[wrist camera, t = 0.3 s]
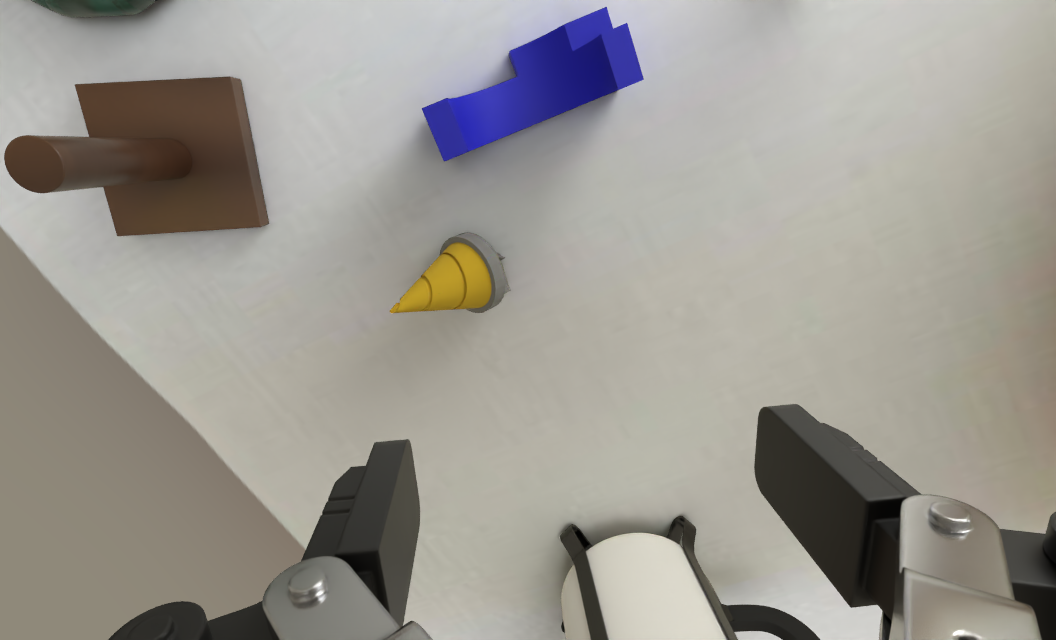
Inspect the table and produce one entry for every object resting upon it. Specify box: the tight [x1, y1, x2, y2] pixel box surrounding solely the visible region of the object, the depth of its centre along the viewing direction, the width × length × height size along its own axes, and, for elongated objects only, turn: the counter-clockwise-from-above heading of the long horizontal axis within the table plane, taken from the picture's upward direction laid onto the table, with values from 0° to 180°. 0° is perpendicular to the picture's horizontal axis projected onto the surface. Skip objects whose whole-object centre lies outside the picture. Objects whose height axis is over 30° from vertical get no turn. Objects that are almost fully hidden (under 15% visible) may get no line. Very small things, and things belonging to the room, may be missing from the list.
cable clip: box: [422, 7, 644, 161], centre depth 33 cm, size 12×4×6 cm, turn 112°
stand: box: [4, 77, 269, 236], centre depth 30 cm, size 9×9×12 cm
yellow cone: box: [390, 233, 510, 313], centre depth 36 cm, size 5×5×10 cm
